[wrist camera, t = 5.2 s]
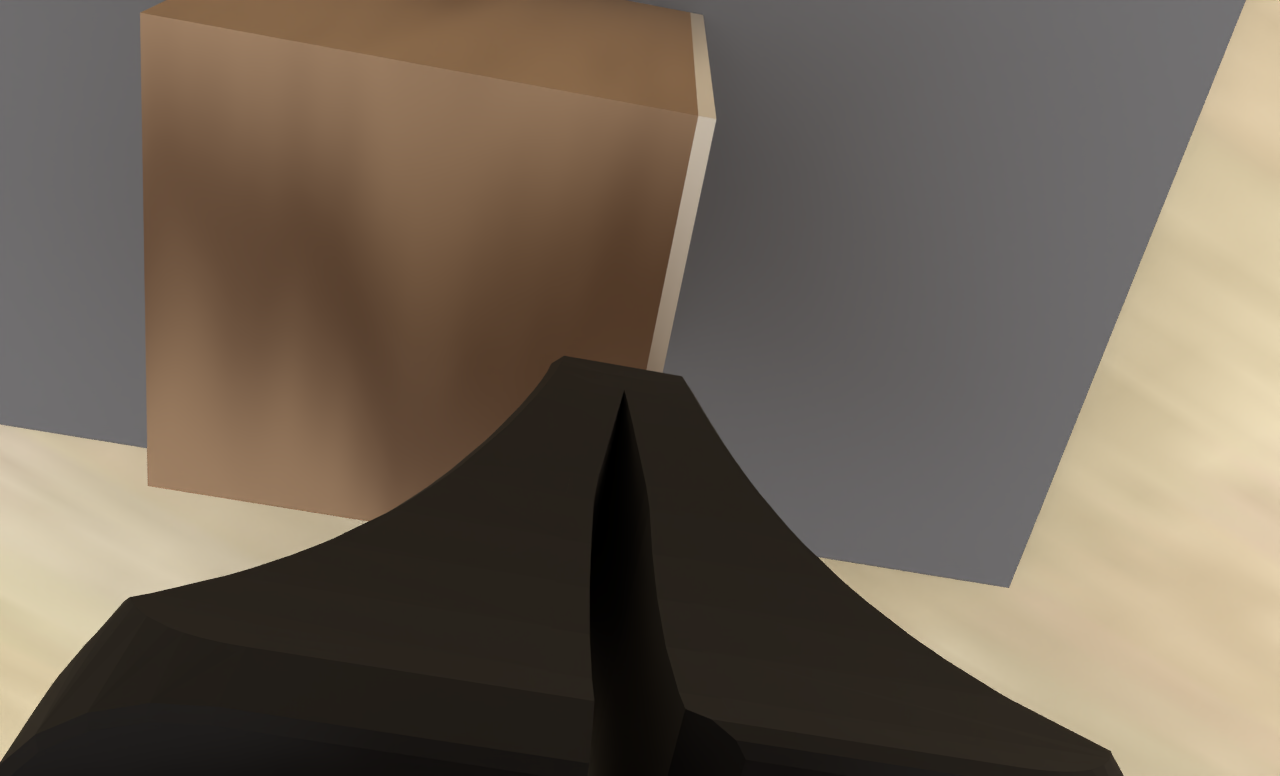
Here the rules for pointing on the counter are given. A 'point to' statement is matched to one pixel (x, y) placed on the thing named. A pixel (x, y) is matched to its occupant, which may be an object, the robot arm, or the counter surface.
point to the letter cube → (400, 227)
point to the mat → (748, 244)
